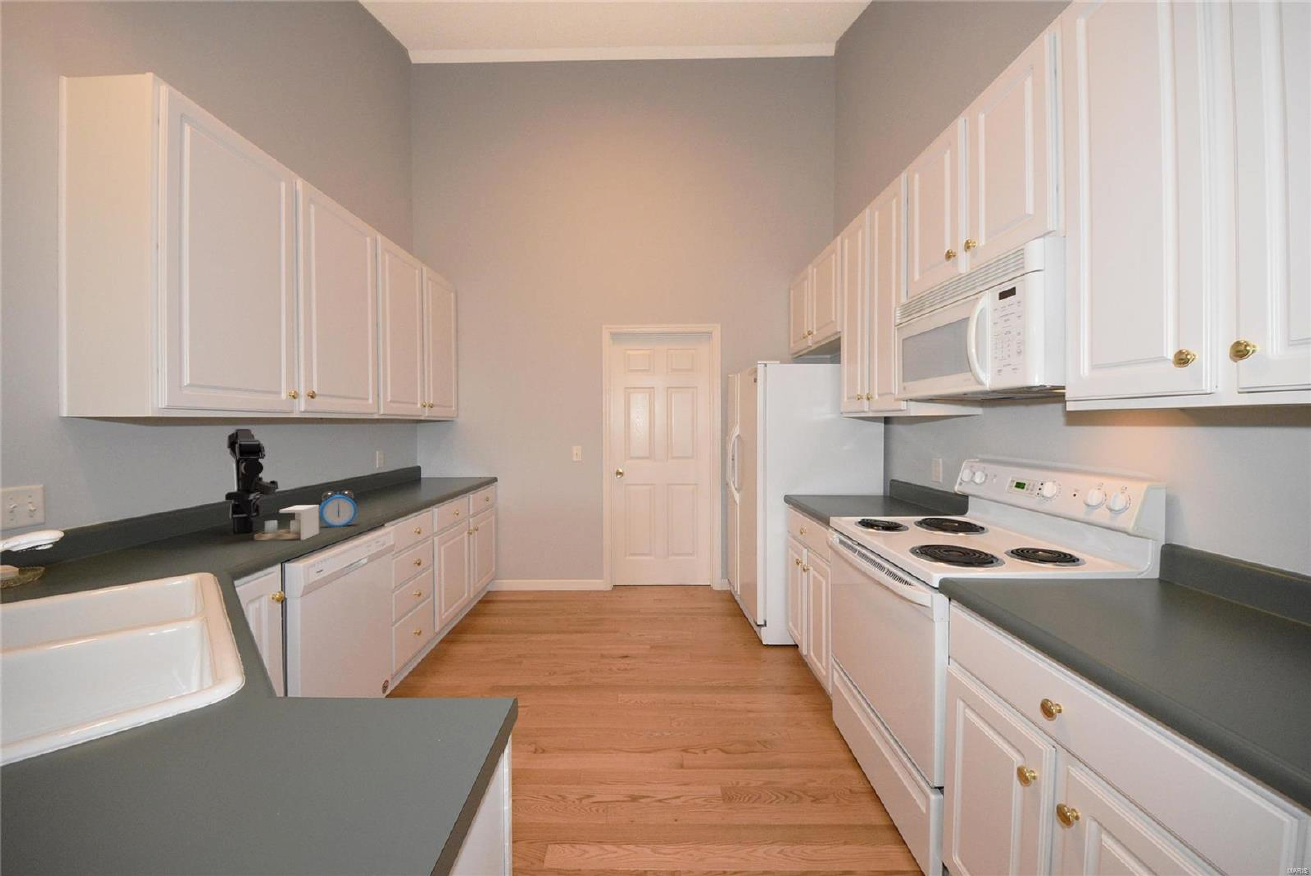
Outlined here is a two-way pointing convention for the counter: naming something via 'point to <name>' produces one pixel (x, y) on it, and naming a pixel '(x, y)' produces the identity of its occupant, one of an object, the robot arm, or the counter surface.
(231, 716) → the counter surface
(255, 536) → the tray
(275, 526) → the grey rounded cylinder
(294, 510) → the white l-shaped bracket
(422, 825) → the counter surface
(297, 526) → the white rounded cylinder
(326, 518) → the alarm clock
